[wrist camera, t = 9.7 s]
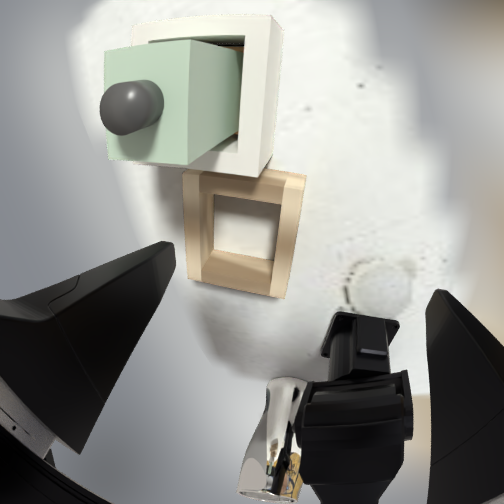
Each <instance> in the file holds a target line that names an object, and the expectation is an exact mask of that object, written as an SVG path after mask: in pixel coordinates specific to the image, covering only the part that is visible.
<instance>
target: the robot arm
mask: <svg viewBox="0 0 504 504" xmlns="http://www.w3.org/2000/svg"><path fill="white" fill-rule="evenodd" d="M175 267H176V258H175V248H174V244H173V243H171V242H166V241H160V242H158V243H155V244H153V245H150V246H148V247H145V248H142V249H140V250H137V251H135V252H132V253H130V254H127V255H125V256H123V257H120V258H117V259H115V260H113V261H110V262H108V263H105V264H103V265H100V266H98V267H96V268H93V269H91V270H89V271H86V272H84V273H82V274H80V275H77V276H74V277H72V278H70V279H67V280H65V281H62V282H60V283H58V284H55V285H52V286H50V287H47V288H44V289H41V290H39V291H36V292H33V293H31V294H28V295H25V296H22V297H20V298H17V299H12V300H1V299H0V504H114V503H112V502H110V501H108V500H106V499H104V498H103V497H101V496H99V495H97V494H95V493H94V492H92V491H90V490H88V489H87V488H85V487H83V486H82V485H80V484H78V483H77V482H75V481H74V480H72V479H71V478H69V477H67V476H66V475H65V474H63V473H62V472H60V471H59V470H57V469H56V467H55V463H54V459H53V455H52V451H51V449H50V447H51V446H52V444H53V442H54V441H55V440H57V441H58V442H60V443H61V444H63V445H64V446H66V447H67V448H69V449H71V450H72V451H74V452H75V453H77V454H79V455H80V454H81V452H82V450H83V448H84V446H85V444H86V442H87V439H88V437H89V435H90V433H91V431H92V429H93V427H94V425H95V423H96V421H97V419H98V417H99V415H100V413H101V411H102V409H103V407H104V405H105V402H106V401H107V399H108V397H109V395H110V393H111V391H112V389H113V387H114V385H115V383H116V381H117V380H118V378H119V376H120V374H121V372H122V370H123V368H124V366H125V365H126V363H127V361H128V359H129V357H130V355H131V353H132V352H133V350H134V348H135V346H136V344H137V343H138V341H139V339H140V337H141V336H142V334H143V332H144V330H145V328H146V326H147V325H148V323H149V321H150V320H151V318H152V316H153V314H154V313H155V311H156V309H157V307H158V305H159V304H160V302H161V300H162V297H163V295H164V293H165V290H166V288H167V286H168V284H169V282H170V279H171V277H172V275H173V273H174V270H175ZM425 317H426V347H427V361H428V371H429V383H430V400H431V464H430V465H431V466H430V478H429V489H428V499H427V504H504V346H503V345H502V344H501V343H500V342H499V341H498V340H497V339H496V338H495V337H494V336H493V335H492V334H491V333H490V332H489V331H488V330H487V329H486V327H485V326H483V325H482V323H481V322H480V321H479V320H478V319H477V318H476V317H475V316H474V315H472V314H471V313H470V312H469V311H468V310H467V309H466V308H465V307H464V306H463V305H462V304H461V303H460V302H459V301H458V300H457V299H456V298H455V297H454V296H453V295H451V294H450V293H449V292H448V291H447V290H442V289H436V290H435V291H434V293H433V295H432V297H431V299H430V301H429V303H428V305H427V308H426V312H425ZM394 325H396V326H394ZM399 328H400V325H399V322H398V321H396V320H390V319H383V318H377V317H371V316H365V315H358V314H353V313H347V312H337V313H336V314H335V316H334V319H333V322H332V324H331V327H330V330H329V332H328V335H327V338H326V340H325V343H324V345H323V348H322V350H321V356H322V357H326V358H330V361H329V374H328V381H325V382H314V381H312V382H307V385H306V389H304V392H303V395H302V398H301V401H300V404H299V407H298V410H297V413H296V416H295V419H294V423H293V424H292V431H293V432H294V433H295V437H296V443H297V446H298V448H300V449H301V459H300V466H299V474H300V476H301V479H302V481H303V483H304V484H306V485H310V486H311V487H312V489H313V490H314V492H315V494H316V495H317V497H318V498H319V500H320V502H321V504H378V502H379V498H380V497H381V496H382V494H383V492H384V491H385V490H386V488H387V487H388V486H389V484H390V483H391V481H392V480H393V479H394V478H395V476H396V474H397V473H398V471H399V469H400V468H401V466H402V464H403V461H404V441H407V440H412V437H413V403H412V396H411V389H410V383H409V378H408V372H407V370H403V371H401V372H397V373H391V369H390V358H389V348H388V347H389V345H390V343H391V342H392V340H393V338H394V336H395V335H396V333H397V331H398V329H399Z"/></svg>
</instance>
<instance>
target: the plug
mask: <svg viewBox="0 0 504 504" xmlns="http://www.w3.org/2000/svg"><path fill="white" fill-rule="evenodd" d="M243 58H244V53H242V52H239V51H235V50H232V49H228V48H224V47H221V46H217V45H213V44H209V43H204V42H200V41H195V40H178V41H167V42H158V43H150V44H143V45H136V46H130V47H124V48H119V49H114V50H109V51H104V94H103V96H102V99H101V102H100V116H101V120H102V122H103V124H104V126H105V127H106V138H107V150H108V159H109V160H125V161H142V162H156V163H168V164H180V165H189V164H190V163H191V162H193V161H194V160H196V159H197V158H198V157H200V156H201V155H203V154H204V153H206V152H207V151H209V150H210V149H211V148H213V147H214V146H216V145H217V144H219V143H220V142H222V141H223V140H225V139H226V138H228V137H229V136H231V135H232V134H234V133H236V132H237V131H239V117H240V101H241V86H242V72H243Z"/></svg>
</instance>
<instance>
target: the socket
mask: <svg viewBox="0 0 504 504" xmlns="http://www.w3.org/2000/svg"><path fill="white" fill-rule="evenodd" d="M283 39H284V30H283V28H282V27H281V26H280V25H279V24H278V22H277V21H276V20H275V19H274V18H273V16H272V15H256V14H229V15H206V16H193V17H183V18H174V19H166V20H159V21H153V22H147V23H141V24H136V25H132V34H131V46H136V45H143V44H150V43H158V42H167V41H178V40H195V41H200V42H204V43H209V44H245V45H244V58H243V72H242V86H241V101H240V117H239V133H238V135H237V134H232V135H231V136H229V137H228V138H226V139H225V140H223V141H222V142H220V143H219V144H217V145H216V146H214V147H213V148H211V149H210V150H209V151H207V152H206V153H204V154H203V155H201V156H200V157H198V158H197V159H196V160H194V161H193V162H191V163H190V164H189V165H180V164H168V163H156V162H142V161H133V164H137V165H151V166H163V167H174V168H185V169H194V170H204V171H212V172H221V173H229V174H236V175H244V176H251V177H258V176H259V175H260V173H261V172H262V170H263V169H264V167H265V166H266V164H267V163H268V161H269V159H270V158H271V156H272V155H273V146H274V136H275V126H276V116H277V105H278V94H279V84H280V73H281V62H282V50H283Z"/></svg>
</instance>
